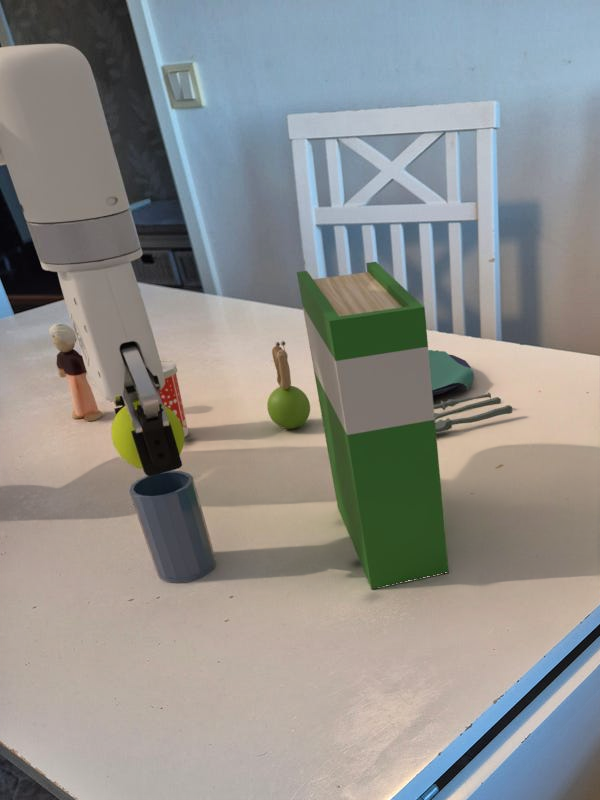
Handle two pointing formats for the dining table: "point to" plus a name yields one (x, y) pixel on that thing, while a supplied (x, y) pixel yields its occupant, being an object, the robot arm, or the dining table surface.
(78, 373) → the grandmother figurine
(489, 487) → the dining table surface
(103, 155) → the robot arm
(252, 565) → the dining table surface
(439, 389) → the cutlery set
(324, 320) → the hardback book
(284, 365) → the snail figurine
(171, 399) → the beverage cup
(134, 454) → the ball
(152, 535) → the cup
